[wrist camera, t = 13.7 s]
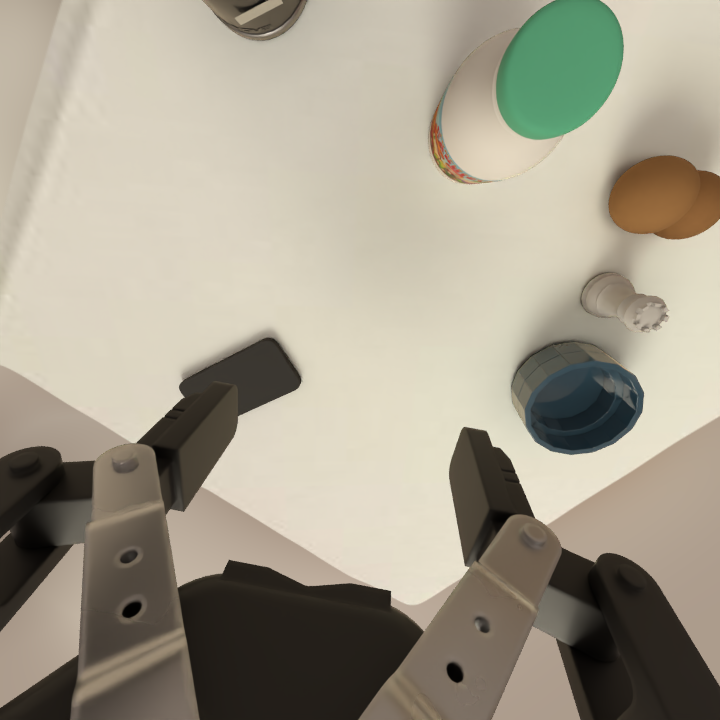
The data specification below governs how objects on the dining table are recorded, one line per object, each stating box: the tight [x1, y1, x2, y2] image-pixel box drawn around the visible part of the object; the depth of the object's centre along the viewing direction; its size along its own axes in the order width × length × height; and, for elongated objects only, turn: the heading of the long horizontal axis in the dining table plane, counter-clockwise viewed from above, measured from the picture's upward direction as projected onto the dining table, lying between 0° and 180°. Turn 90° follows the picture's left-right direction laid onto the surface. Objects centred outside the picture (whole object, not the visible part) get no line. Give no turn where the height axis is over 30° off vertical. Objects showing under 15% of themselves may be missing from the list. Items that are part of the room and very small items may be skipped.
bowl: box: [511, 342, 644, 455], centre depth 39 cm, size 11×11×6 cm
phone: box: [179, 338, 301, 416], centre depth 45 cm, size 7×1×15 cm
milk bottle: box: [428, 0, 624, 184], centre depth 23 cm, size 8×8×20 cm
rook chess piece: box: [581, 273, 669, 332], centre depth 33 cm, size 4×4×8 cm
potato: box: [609, 156, 720, 239], centre depth 30 cm, size 6×9×6 cm
